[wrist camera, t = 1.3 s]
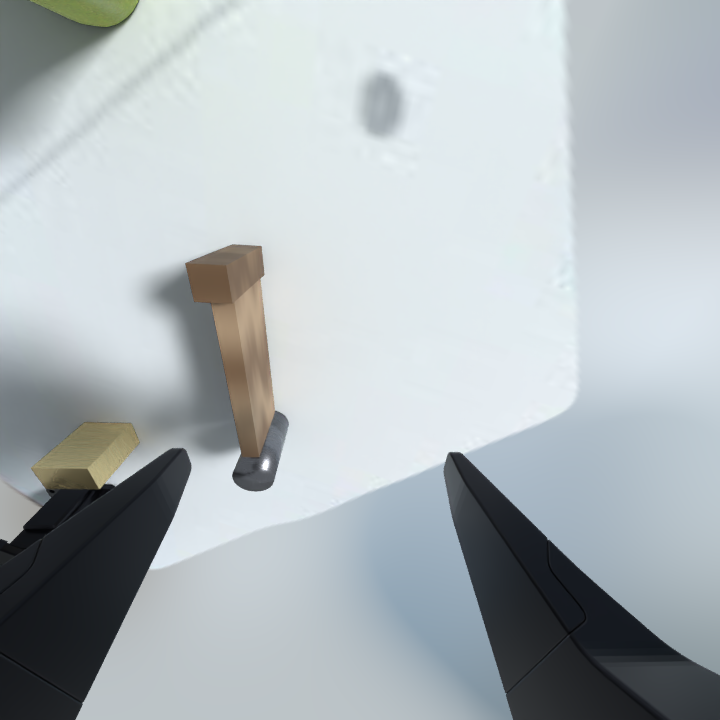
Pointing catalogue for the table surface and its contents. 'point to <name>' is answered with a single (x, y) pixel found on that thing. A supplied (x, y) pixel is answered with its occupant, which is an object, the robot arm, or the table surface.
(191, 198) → the table surface
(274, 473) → the grey metal cylinder
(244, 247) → the wooden t-bar
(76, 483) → the block
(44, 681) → the robot arm
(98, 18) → the plant pot
